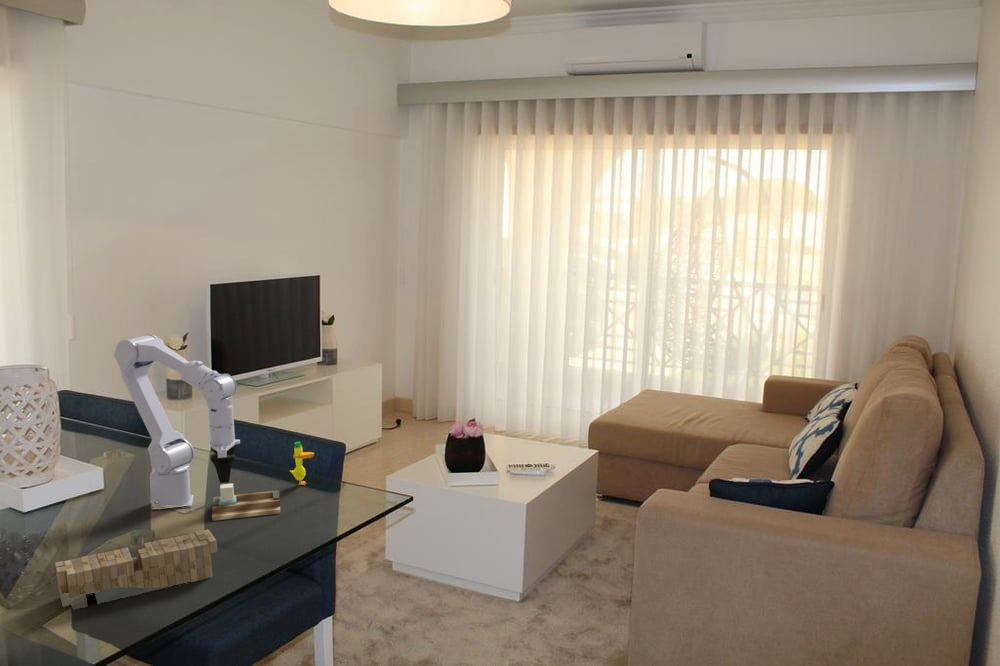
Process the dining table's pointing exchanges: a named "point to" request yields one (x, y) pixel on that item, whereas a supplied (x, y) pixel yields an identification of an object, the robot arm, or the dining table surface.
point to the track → (248, 506)
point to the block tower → (140, 566)
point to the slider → (227, 495)
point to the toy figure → (300, 462)
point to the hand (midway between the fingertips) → (225, 477)
